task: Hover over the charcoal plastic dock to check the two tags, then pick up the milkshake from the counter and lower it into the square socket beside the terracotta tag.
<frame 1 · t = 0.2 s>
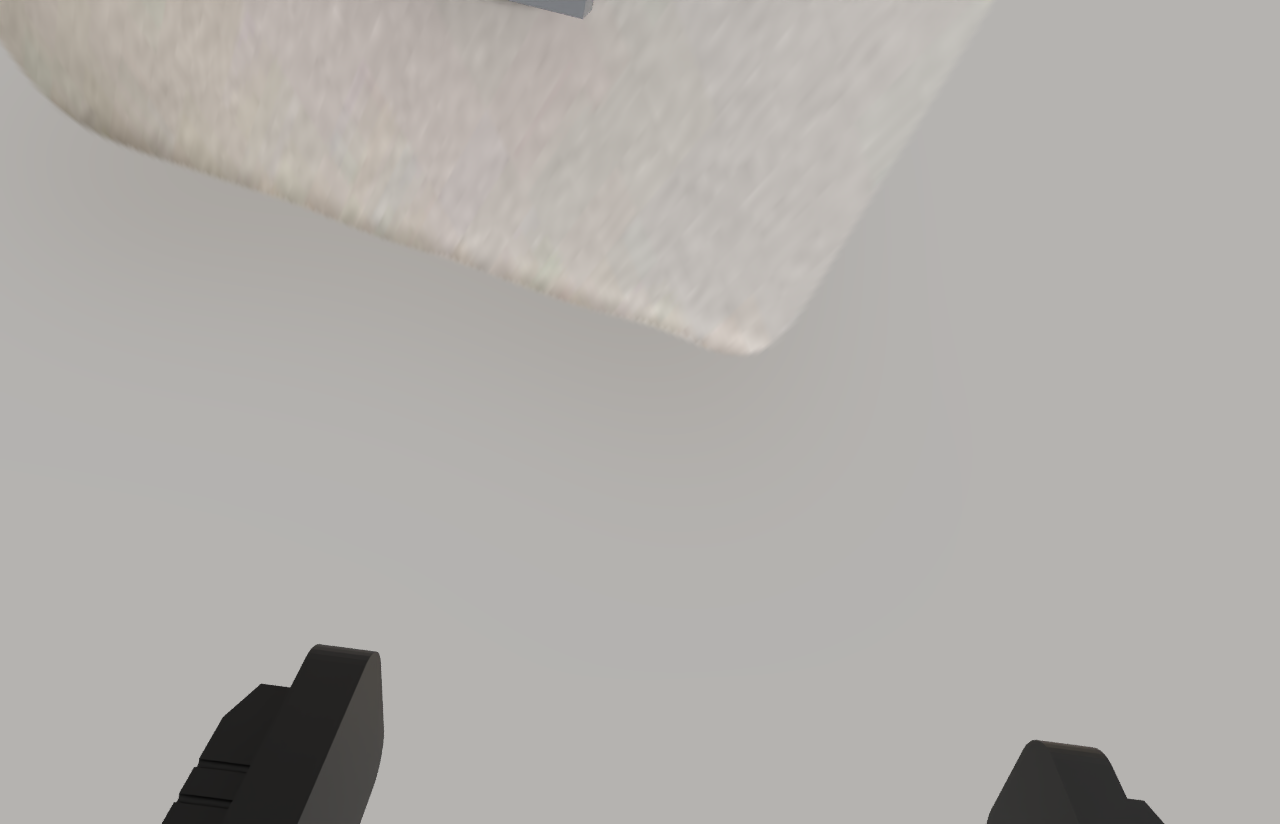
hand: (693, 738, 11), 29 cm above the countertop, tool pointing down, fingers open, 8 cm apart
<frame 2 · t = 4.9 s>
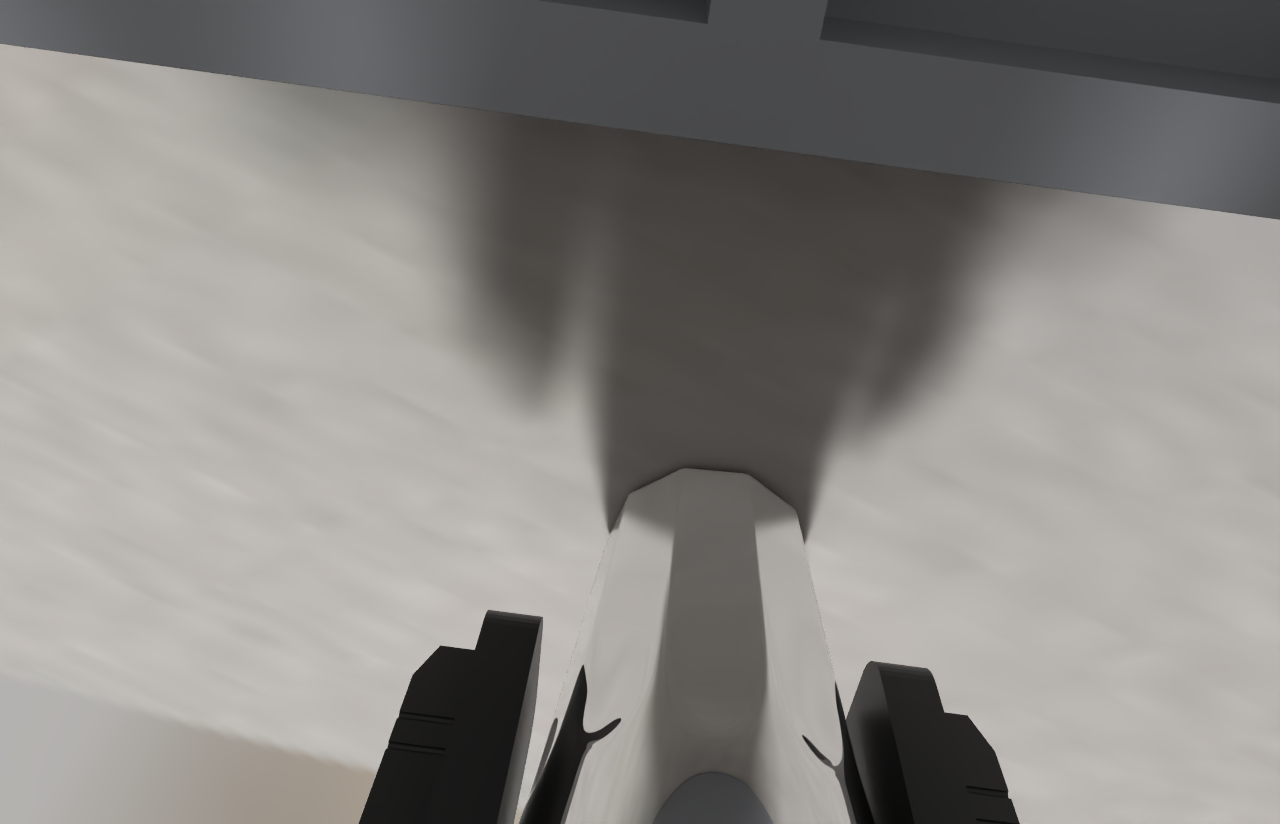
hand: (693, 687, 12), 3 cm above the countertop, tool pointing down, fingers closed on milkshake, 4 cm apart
milkshake: (688, 524, 15), on the countertop, touching gripper
when the fingers open (5 cm above the countertop, at t = 10.0 s): milkshake stays where it is, resting on dock.
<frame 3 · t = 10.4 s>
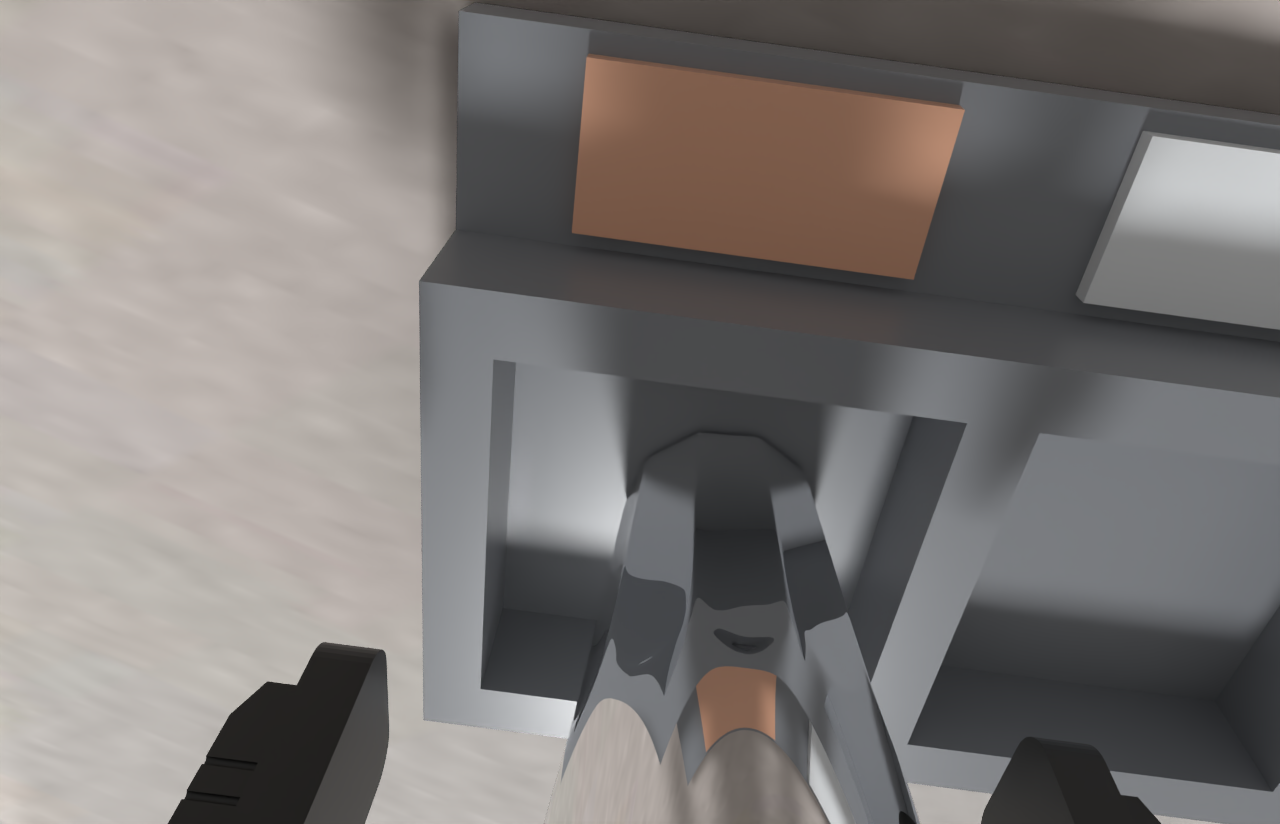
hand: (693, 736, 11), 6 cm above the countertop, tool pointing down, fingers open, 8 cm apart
dock: (923, 409, 15), on the countertop
milkshake: (701, 487, 15), point 1 cm above the countertop, touching dock
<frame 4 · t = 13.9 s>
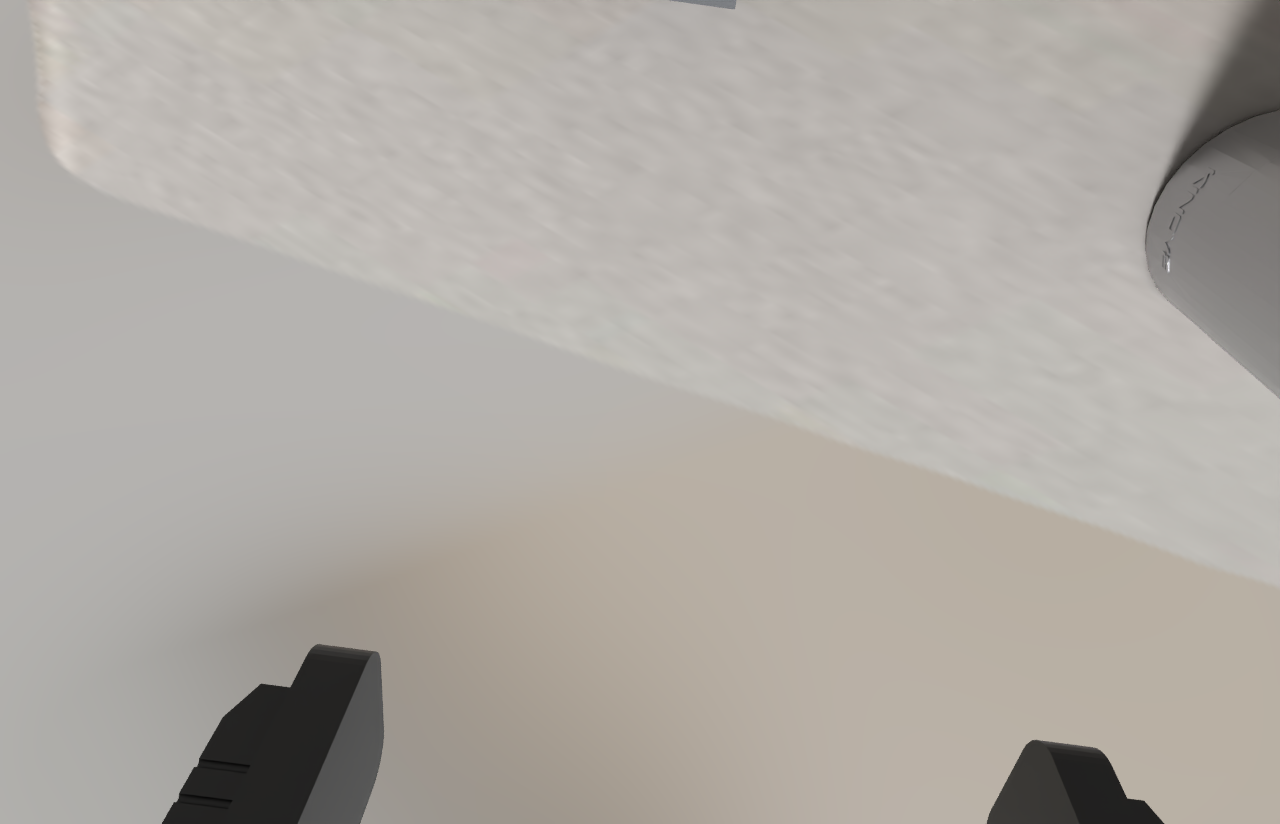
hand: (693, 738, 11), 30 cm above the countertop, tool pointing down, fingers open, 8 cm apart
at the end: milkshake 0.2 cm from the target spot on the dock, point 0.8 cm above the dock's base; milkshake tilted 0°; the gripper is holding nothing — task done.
